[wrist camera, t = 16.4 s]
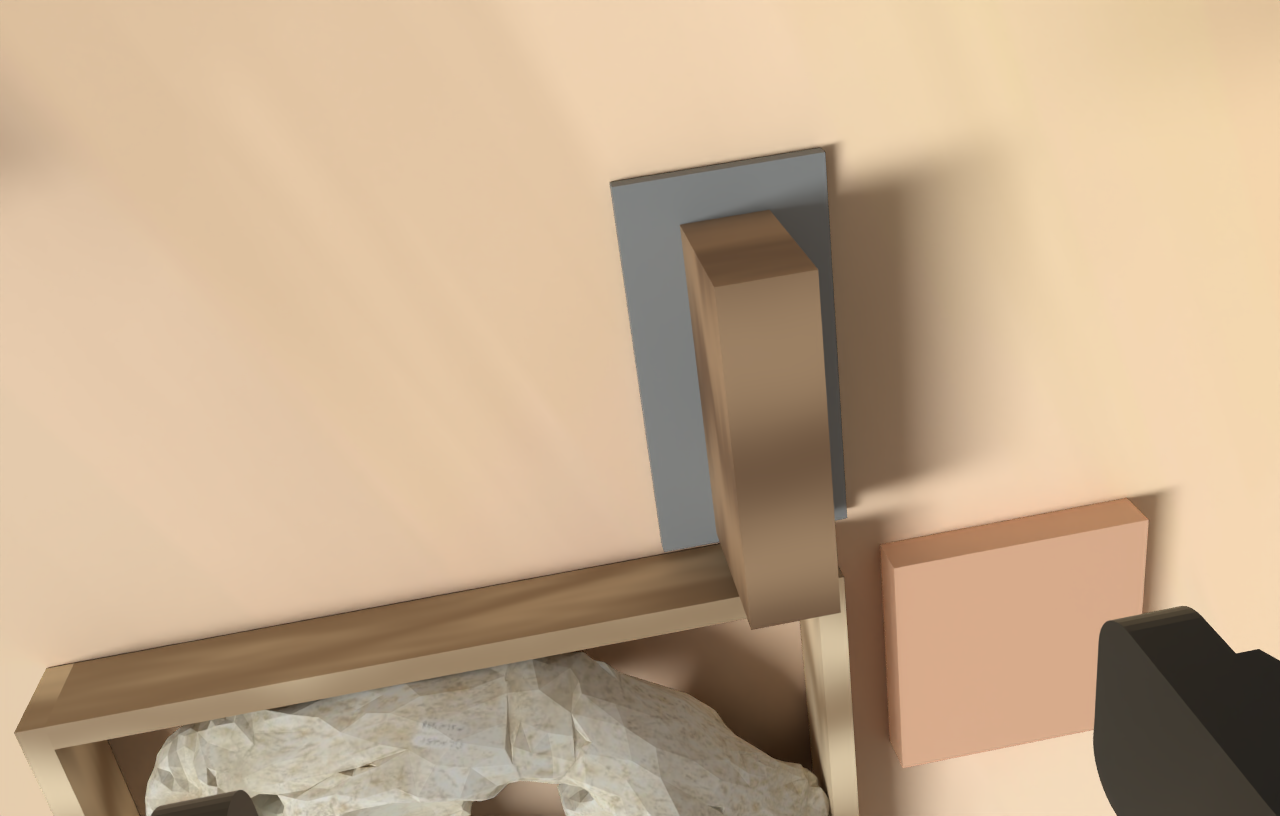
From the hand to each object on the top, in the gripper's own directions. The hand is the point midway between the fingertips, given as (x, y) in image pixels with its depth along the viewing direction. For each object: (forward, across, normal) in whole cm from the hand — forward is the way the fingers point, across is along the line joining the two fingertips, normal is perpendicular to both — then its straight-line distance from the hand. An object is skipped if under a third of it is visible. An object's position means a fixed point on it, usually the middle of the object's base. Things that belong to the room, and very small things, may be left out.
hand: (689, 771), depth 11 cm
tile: (+28, -15, +19) cm, 37 cm away
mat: (+29, -5, +10) cm, 31 cm away
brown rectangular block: (+28, -6, +11) cm, 31 cm away
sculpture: (+29, +6, +26) cm, 39 cm away
